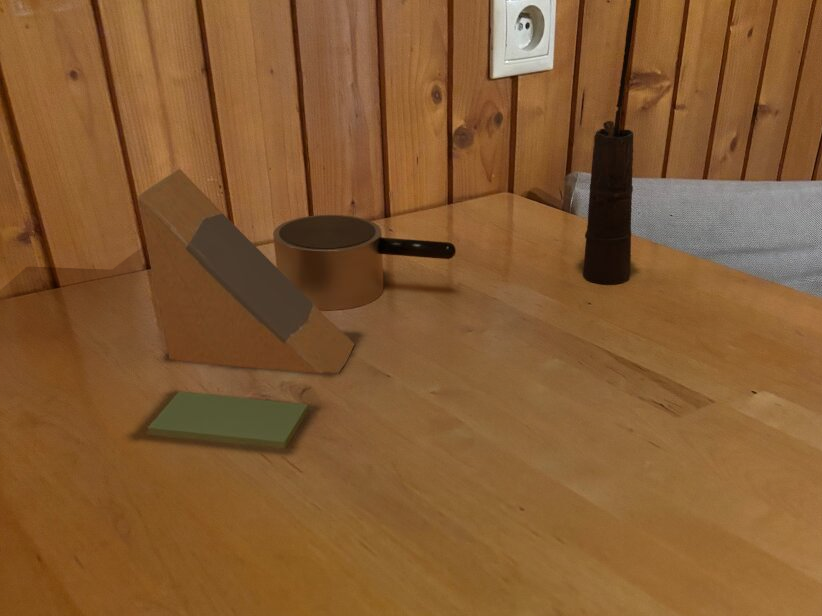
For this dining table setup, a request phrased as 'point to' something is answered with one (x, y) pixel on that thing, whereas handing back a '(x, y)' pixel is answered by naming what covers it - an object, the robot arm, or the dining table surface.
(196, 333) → the sandwich container
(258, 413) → the green rectangular slab
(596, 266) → the butter churn
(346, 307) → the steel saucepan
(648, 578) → the dining table surface
